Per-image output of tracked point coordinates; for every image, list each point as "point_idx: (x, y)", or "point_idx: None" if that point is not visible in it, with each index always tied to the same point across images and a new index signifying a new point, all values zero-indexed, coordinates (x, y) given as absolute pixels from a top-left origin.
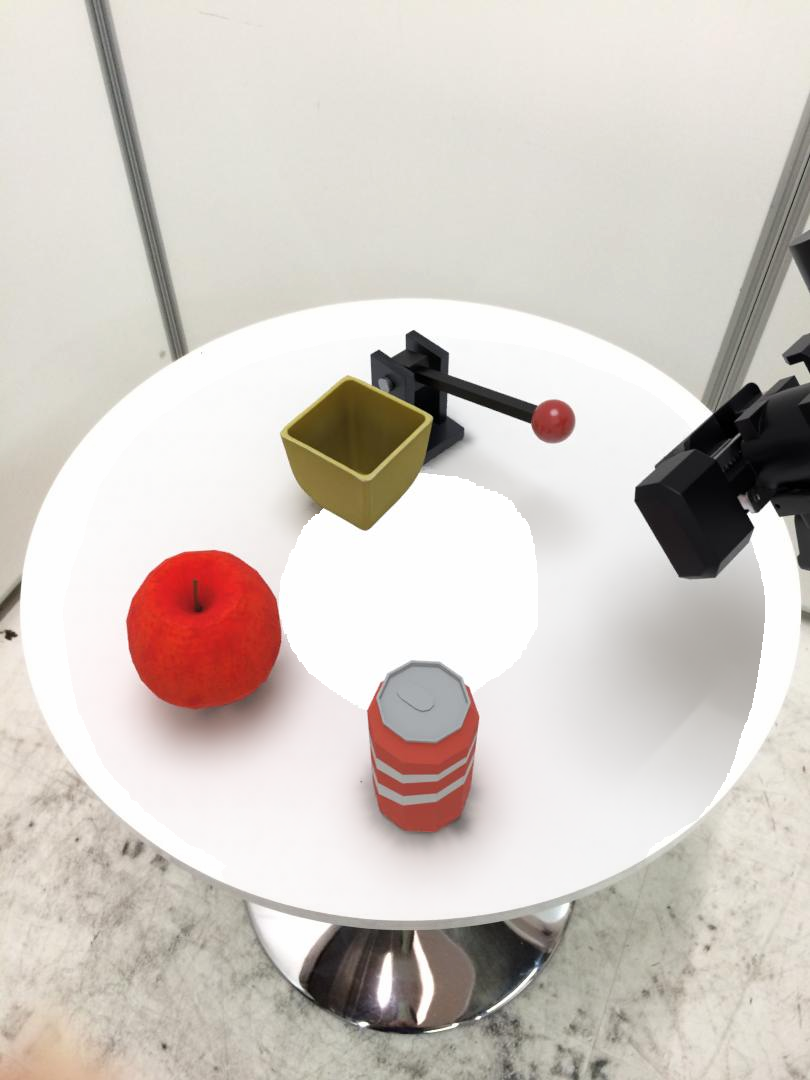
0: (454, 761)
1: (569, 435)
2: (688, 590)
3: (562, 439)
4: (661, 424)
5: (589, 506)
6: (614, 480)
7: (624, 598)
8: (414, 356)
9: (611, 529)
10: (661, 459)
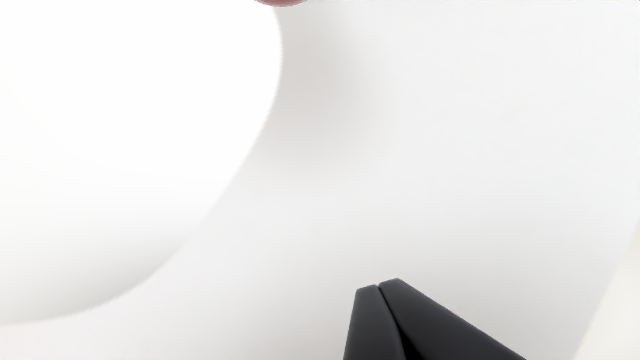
0: None
1: (295, 1)
2: None
3: (271, 3)
4: (622, 19)
5: (395, 108)
6: (468, 82)
7: (325, 298)
8: None
9: (397, 167)
10: (389, 288)
